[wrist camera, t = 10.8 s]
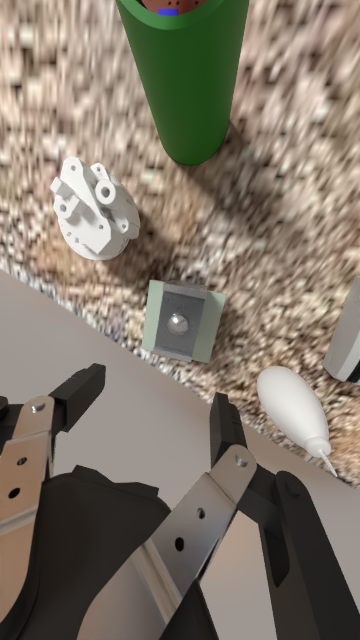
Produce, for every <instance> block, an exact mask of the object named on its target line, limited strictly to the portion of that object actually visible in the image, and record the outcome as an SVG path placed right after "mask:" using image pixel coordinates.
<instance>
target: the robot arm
mask: <svg viewBox="0 0 360 640" xmlns="http://www.w3.org/2000/svg"><path fill="white" fill-rule="evenodd" d="M105 372H106V367H105V366H104V365H100V364H96V363H94V364H92V365H91V366H90V367H89V368H88V369H82V370H80V371H78V372H76V373H75V374H74V375H72V376H71V378H69V379H68V380H66V382H64V383H63V384H61V385H60V386H59V387H58V388H56V389H55V390H54V391H53V392H51V393H50V394H49V395H48V396H40V397H36V398H33V399H31V400H30V401H28V402H26V403H25V404H8V399H7V398H6V397H3V396H0V456H1V457H0V640H219V638H218V636H217V632H216V630H215V627H214V624H213V621H212V618H211V615H210V613H209V610H208V608H207V604H206V601H205V598H204V596H203V593H202V590H201V587H200V583H201V581H202V579H203V577H204V575H205V573H206V571H207V570H208V568H209V566H210V564H211V562H212V560H213V558H214V556H215V554H216V552H217V550H218V548H219V546H220V543H221V542H222V540H223V538H224V536H225V534H226V533H227V531H228V529H229V527H230V525H231V523H232V521H233V519H234V517H235V515H236V514H237V512H238V510H239V511H241V512H242V513H244V514H245V515H247V516H248V517H249V518H251V519H252V520H253V521H255V522H256V523H258V526H259V532H260V538H261V544H262V550H263V556H264V562H265V568H266V574H267V580H268V586H269V592H270V598H271V604H272V610H273V616H274V622H275V628H276V634H277V640H360V614H359V611H358V609H357V606H356V604H355V602H354V599H353V597H352V595H351V592H350V590H349V587H348V585H347V583H346V580H345V578H344V575H343V573H342V571H341V568H340V566H339V563H338V561H337V559H336V557H335V554H334V551H333V549H332V547H331V544H330V542H329V540H328V537H327V535H326V532H325V530H324V528H323V525H322V523H321V521H320V518H319V516H318V513H317V511H316V508H315V506H314V504H313V501H312V499H311V496H310V494H309V492H308V490H307V488H306V487H305V486H304V484H303V483H302V482H301V481H300V480H299V479H298V478H297V477H296V476H294V475H293V474H291V473H289V472H287V471H279V472H278V473H277V474H276V475H275V474H273V473H271V472H270V471H268V470H266V469H265V468H263V467H261V466H260V465H259V464H258V463H256V460H255V458H254V456H253V455H252V453H251V452H250V451H249V450H248V448H247V444H246V440H245V435H244V431H243V427H242V423H241V420H240V414H239V411H238V409H237V408H236V406H235V405H234V404H231V403H229V401H228V395H227V394H223V393H219V392H216V393H215V396H214V400H213V403H212V407H211V411H210V447H211V449H210V450H211V471H210V472H209V473H207V472H205V473H204V474H203V475H202V476H201V477H200V478H199V480H198V481H197V482H196V483H195V484H194V485H193V487H192V488H191V489H190V490H189V491H188V493H187V494H186V495H185V496H184V497H183V499H182V500H181V501H180V502H179V503H178V504H177V506H176V507H175V508H174V509H173V510H172V511H171V510H170V508H169V507H168V506H167V504H166V503H165V502H164V501H163V500H162V499H160V498H159V497H157V495H158V491H159V488H157V487H153V486H149V485H146V484H142V483H139V482H132V483H131V482H130V483H114V482H112V481H110V480H109V479H108V478H106V477H105V476H104V475H102V474H101V473H99V472H98V471H97V470H94V469H90V468H87V467H83V466H79V465H76V467H75V468H74V470H73V471H72V473H64V474H60V475H57V476H54V477H53V469H54V458H55V447H56V435H57V434H58V433H59V432H60V431H64V432H69V430H70V429H71V428H72V427H73V426H74V424H75V423H76V422H77V421H78V420H79V418H80V417H81V416H82V415H83V414H84V412H85V411H86V410H87V409H88V408H89V406H90V405H91V404H92V403H93V402H94V401H95V399H96V398H97V397H98V396H99V395H100V393H101V392H102V390H103V388H104V385H105Z"/></svg>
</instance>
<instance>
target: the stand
mask: <svg viewBox="0 0 360 640" xmlns="http://www.w3.org/2000/svg"><path fill="white" fill-rule="evenodd" d="M163 283H165V282H162V281H157V280H150V284H149V292H148V300H147V308H146V316H145V324H144V332H143V340H142V349H146V350H151V351H153V348H154V346H155V339H156V333H157V327H158V321H159V314H160V308H161V302H162V295H163V290H162V289H163ZM225 299H226V294H224V293H219V292H214V291H208V290H207V296H206V299H205V303H204V307H203V312H202V316H201V320H200V324H199V329H198V333H197V337H196V341H195V346H194V350H193V354H192V359H191V360H195V361H200V362H204V363H208V364H209V360H210V356H211V353H212V349H213V345H214V341H215V337H216V333H217V329H218V326H219V322H220V318H221V314H222V310H223V306H224V302H225Z"/></svg>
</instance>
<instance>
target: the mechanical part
mask: <svg viewBox="0 0 360 640" xmlns="http://www.w3.org/2000/svg"><path fill="white" fill-rule="evenodd" d="M91 169H92V170H91ZM91 169H90V168H89V167H88V166H87V165H86V164H84V163H83V162H82V161H81V160H80V159H79V158H76V157H73V156H70V157H69V158H67V159H66V160H64V163H63V168H62V172H61V176H60V179H59V178H57V177H55V179H54V181H53V183H52V185H51V186H50V189H51V190H52V191H53V192H54V193H55V194H56V198H55V202H54V206H53V208H54V210H55V212H56V214H57V216H58V218H59V219H58V222H59V225H60V228H61V231H62V234H63V236H64V238H65V240H66V241H67V243H68V244H69V245H70V247H71V248H72V249H73V250H74V251H75V252H77V253H78V254H79V255H81V256H83V257H85V258H88V259H91V260H101V261H103V260H109V259H112V258H114V257H116V256H117V255H119V254H120V253H121V252H122V251H123V250H124V249H125V247H126V245H127V244H128V241H129V239H131V240H132V239H135V238H138V236H139V228H140V218H139V214H138V211H137V207H136V205H135V202H134V200H133V198H132V196H131V195H130V193H129V192H128V190H127V189H126V188H125V187H124V186H123V185H122V184H121V183H120V182H119V181H118V180H117V179H116V177H115V176H113V175H112V174H111V173H110V172H109V171H107V169H106V168H105V167H104V166H102V165H101V164H100V163H96V164H94V165H92V166H91Z"/></svg>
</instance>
